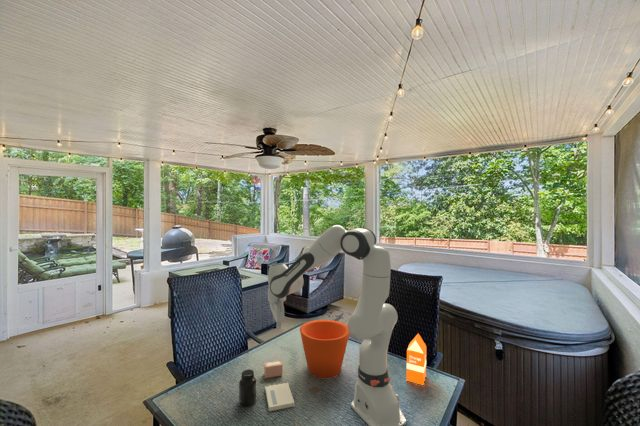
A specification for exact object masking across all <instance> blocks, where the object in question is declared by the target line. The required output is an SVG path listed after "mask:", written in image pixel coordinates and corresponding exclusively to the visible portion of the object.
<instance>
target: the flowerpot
mask: <svg viewBox="0 0 640 426" xmlns="http://www.w3.org/2000/svg"><path fill="white" fill-rule="evenodd" d="M299 333H300V338H301V342H302V346H303V347H302V348H303V352H304V355H305V361H306V365H307V370H308V373H309V374H310V375H311V376H313V377H314V376H315V378H317V379H322V378H323V380H325V379H326V380H327V379H333V378H335V377H337V376H339V375H340V373H341V369H342V366H343V363H344V362H343V361H344V358H345V354H346V348H347V345H348V342H349V338H350V335H351V334H350V332H349V330H348V324H345V323H343V322H342V321H337V320H333V319H316V320H314V319H313V320H311V321H307V322H305V323H303V324H302V325H301V326H300V327H299Z"/></svg>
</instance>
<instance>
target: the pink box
mask: <svg viewBox="0 0 640 426" xmlns="http://www.w3.org/2000/svg"><path fill="white" fill-rule="evenodd" d="M263 365H264V366H263V367H264V369H263V372H264V373H263V374H264V379H269V378H275V377H280V376H283V362H282V360H274V361H269V362H264V364H263Z"/></svg>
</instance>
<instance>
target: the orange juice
mask: <svg viewBox="0 0 640 426" xmlns="http://www.w3.org/2000/svg"><path fill="white" fill-rule="evenodd" d="M425 377H426V378H427V345H426V343H425V342H424V340H423V338H422V336H421V335H420V334H419V332H418V333H417V334H416V335H415V336H414V338H413V339H412V340H411V341H410V342H409V344H408V347H407V349H406V381H410V382H414V383H417V384H421V385H424V386H425V383H424V381H425V382H426V379H425ZM410 382H409V383H410ZM417 384H416V385H417Z"/></svg>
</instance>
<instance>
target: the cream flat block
mask: <svg viewBox="0 0 640 426" xmlns="http://www.w3.org/2000/svg"><path fill="white" fill-rule="evenodd" d="M264 392H265V396H266V402H267V406H268V408H267V409H268V412H272V411H277V410H282V409H288V408H292V407H295V400H294V398H293V393H292V391H291V388H290V385H289V382H287V381H286V382H281V383H280V382H279V383H275V384H269V385H265V386H264Z"/></svg>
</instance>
